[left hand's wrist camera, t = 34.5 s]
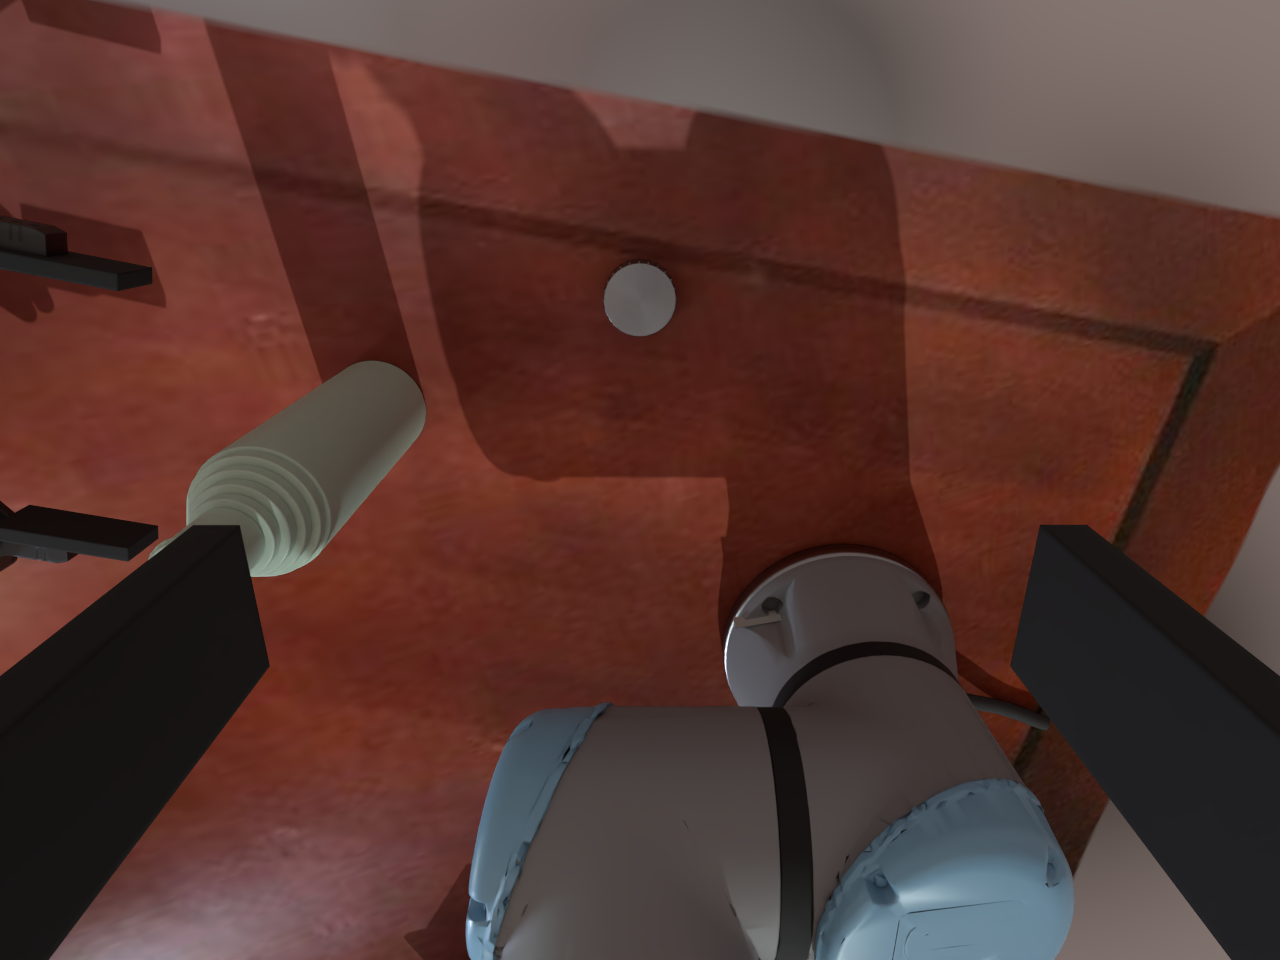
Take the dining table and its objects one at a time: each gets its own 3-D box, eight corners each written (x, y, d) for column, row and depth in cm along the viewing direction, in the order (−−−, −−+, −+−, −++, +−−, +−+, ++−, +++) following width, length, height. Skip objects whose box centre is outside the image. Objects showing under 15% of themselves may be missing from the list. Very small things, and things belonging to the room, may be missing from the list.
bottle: (351, 342, 46) (127, 472, 26) (441, 389, 47) (294, 549, 27) (315, 424, 47) (82, 605, 28) (403, 468, 49) (239, 672, 29)
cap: (592, 276, 44) (590, 281, 42) (658, 246, 44) (658, 249, 42) (622, 341, 46) (621, 349, 44) (686, 312, 45) (688, 319, 43)
